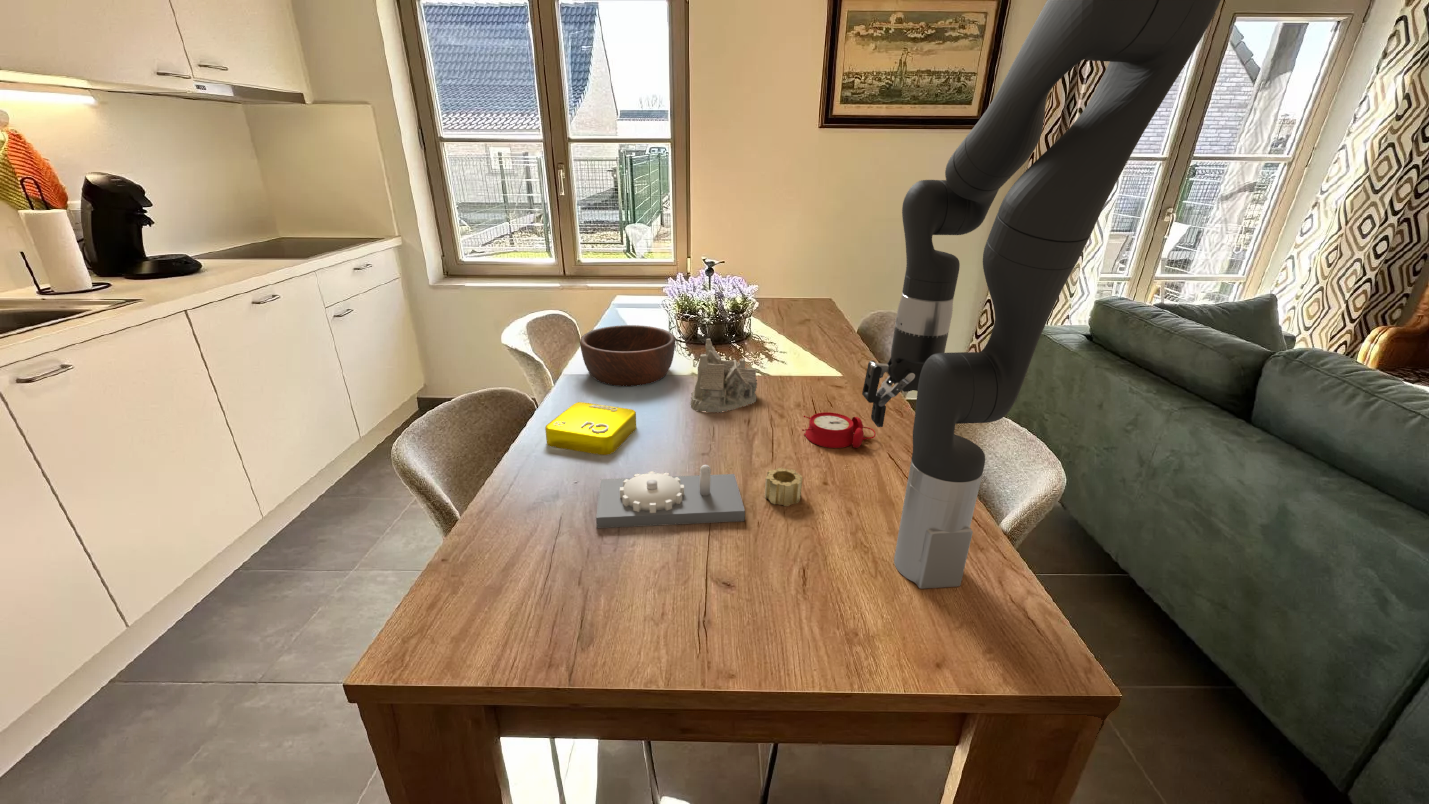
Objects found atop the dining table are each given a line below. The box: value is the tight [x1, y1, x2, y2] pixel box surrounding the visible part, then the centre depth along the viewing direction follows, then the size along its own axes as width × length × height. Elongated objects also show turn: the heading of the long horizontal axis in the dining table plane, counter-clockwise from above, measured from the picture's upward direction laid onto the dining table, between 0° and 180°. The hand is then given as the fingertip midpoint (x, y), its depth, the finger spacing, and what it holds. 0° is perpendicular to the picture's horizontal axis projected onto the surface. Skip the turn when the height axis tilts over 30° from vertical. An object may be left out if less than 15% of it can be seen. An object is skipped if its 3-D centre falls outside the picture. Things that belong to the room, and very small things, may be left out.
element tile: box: [544, 401, 637, 456], centre depth 125 cm, size 15×15×5 cm
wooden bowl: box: [579, 324, 676, 387], centre depth 158 cm, size 25×25×10 cm
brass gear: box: [764, 467, 803, 507], centre depth 104 cm, size 6×6×4 cm
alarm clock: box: [801, 411, 877, 449], centre depth 126 cm, size 10×6×15 cm
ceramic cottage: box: [689, 338, 758, 413], centre depth 142 cm, size 16×16×15 cm
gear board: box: [595, 464, 746, 529], centre depth 100 cm, size 12×24×7 cm, turn 97°
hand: (904, 424), depth 93 cm, fingers open, 8 cm apart
